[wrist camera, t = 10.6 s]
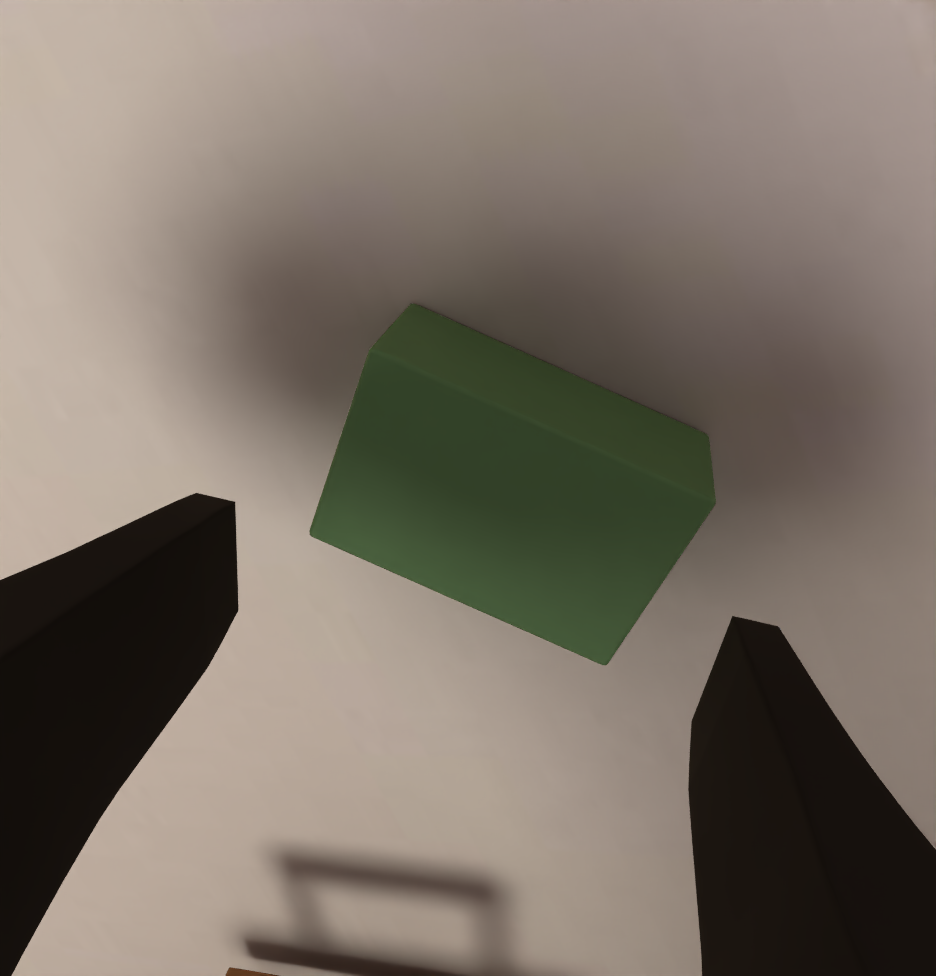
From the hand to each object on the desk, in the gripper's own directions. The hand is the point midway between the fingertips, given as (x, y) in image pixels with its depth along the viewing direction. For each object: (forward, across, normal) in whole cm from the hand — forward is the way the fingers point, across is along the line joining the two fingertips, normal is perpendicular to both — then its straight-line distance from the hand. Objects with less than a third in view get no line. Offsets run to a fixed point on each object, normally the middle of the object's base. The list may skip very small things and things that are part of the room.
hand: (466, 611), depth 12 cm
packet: (+5, 0, 0) cm, 5 cm away
